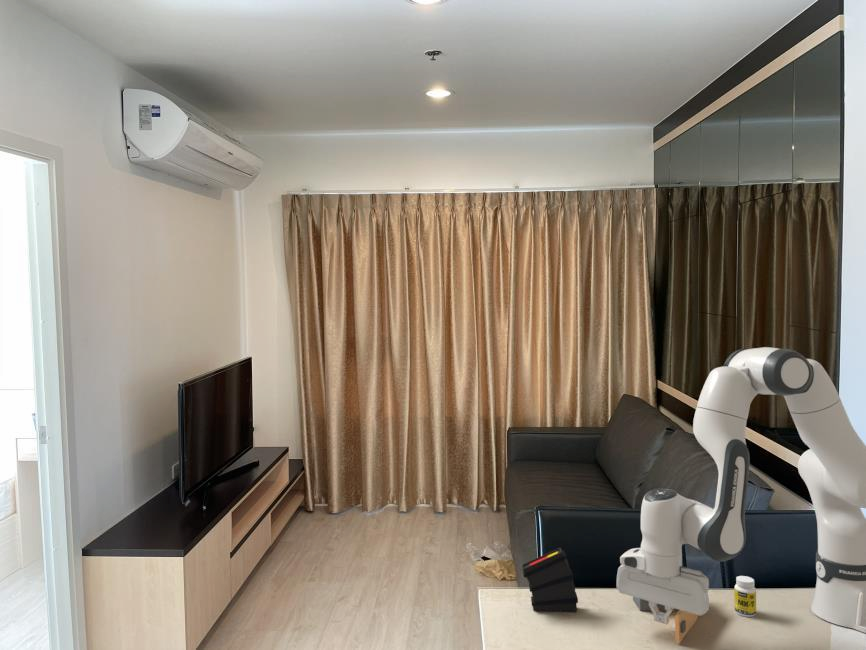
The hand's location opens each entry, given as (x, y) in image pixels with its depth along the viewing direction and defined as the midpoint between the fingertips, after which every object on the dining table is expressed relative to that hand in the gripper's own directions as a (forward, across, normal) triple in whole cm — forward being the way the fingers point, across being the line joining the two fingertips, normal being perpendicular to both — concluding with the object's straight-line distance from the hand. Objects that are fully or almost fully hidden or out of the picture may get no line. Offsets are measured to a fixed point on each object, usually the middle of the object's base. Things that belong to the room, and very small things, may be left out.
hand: (661, 621), depth 147 cm
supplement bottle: (+3, -12, -23) cm, 26 cm away
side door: (+3, -4, -8) cm, 10 cm away
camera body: (+3, +5, -16) cm, 17 cm away
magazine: (+4, +27, +4) cm, 27 cm away
